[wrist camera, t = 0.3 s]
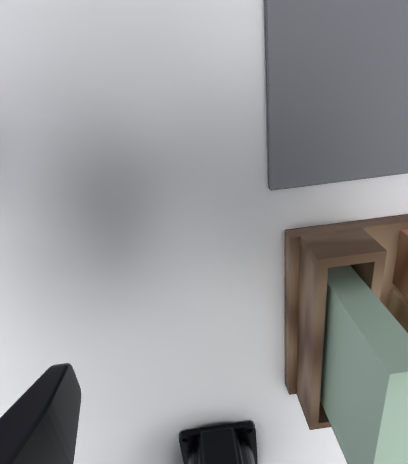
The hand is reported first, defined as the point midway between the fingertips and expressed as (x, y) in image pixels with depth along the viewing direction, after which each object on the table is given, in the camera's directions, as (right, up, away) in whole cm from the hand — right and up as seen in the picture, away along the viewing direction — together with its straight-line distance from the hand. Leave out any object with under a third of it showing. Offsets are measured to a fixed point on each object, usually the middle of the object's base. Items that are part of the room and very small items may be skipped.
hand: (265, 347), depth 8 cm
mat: (+8, +11, +11) cm, 17 cm away
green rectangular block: (+7, -4, +17) cm, 19 cm away
